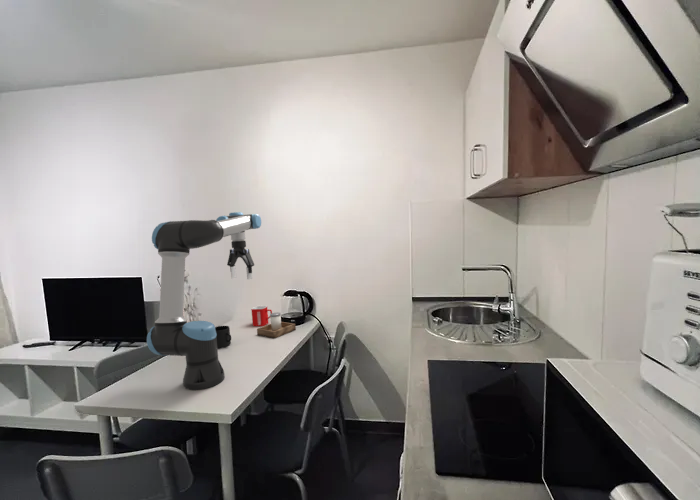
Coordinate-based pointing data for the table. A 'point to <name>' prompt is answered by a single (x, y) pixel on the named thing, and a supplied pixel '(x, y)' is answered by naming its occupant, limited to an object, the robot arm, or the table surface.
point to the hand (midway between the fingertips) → (241, 278)
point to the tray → (274, 334)
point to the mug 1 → (223, 336)
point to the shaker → (275, 321)
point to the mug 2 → (260, 315)
